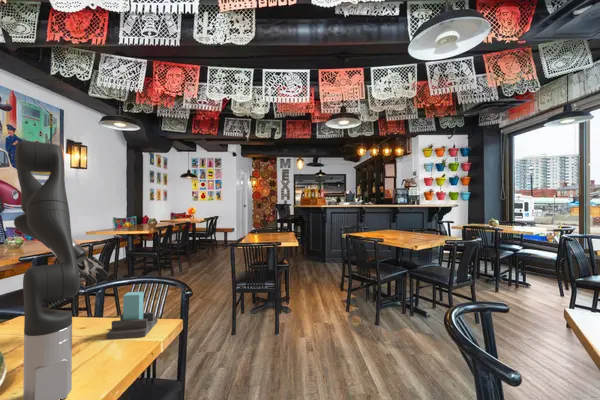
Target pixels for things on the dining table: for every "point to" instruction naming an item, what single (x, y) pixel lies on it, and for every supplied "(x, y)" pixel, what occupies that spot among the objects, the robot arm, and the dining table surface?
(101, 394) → the dining table surface
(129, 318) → the teal book
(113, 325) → the book stand
